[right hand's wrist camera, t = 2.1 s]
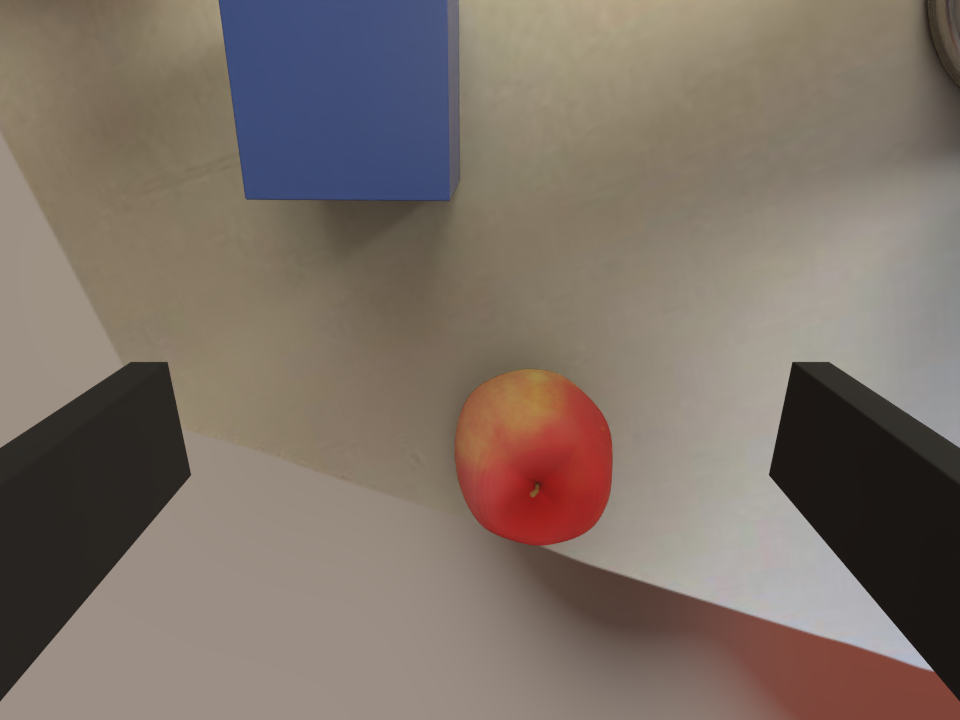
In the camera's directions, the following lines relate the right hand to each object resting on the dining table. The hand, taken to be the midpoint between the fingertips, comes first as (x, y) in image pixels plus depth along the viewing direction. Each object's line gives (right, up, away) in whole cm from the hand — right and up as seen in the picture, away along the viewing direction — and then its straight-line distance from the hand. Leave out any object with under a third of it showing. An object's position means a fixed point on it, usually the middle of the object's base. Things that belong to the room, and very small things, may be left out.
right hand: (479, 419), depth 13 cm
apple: (+3, -2, +27) cm, 27 cm away
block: (-5, +16, +20) cm, 26 cm away
